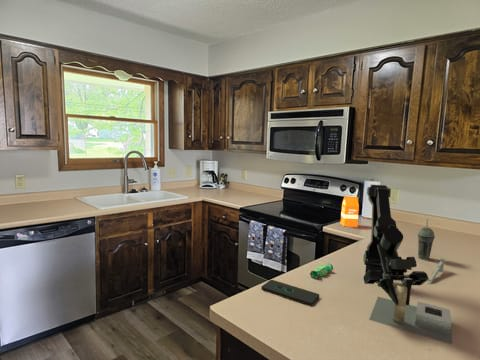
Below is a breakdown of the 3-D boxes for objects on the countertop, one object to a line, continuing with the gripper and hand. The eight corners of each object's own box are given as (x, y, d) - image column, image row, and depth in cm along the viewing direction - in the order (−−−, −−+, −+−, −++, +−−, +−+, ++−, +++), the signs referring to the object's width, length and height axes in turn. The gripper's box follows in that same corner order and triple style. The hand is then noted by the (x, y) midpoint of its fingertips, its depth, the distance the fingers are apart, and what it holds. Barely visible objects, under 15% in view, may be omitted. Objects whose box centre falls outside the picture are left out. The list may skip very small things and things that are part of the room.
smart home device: (271, 278, 125) (320, 293, 114) (271, 282, 126) (319, 298, 115) (260, 286, 119) (311, 303, 108) (260, 290, 119) (311, 307, 108)
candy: (318, 278, 128) (314, 268, 129) (312, 280, 130) (308, 270, 132) (334, 271, 136) (330, 261, 137) (328, 273, 139) (324, 264, 140)
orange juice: (357, 227, 210) (359, 197, 207) (343, 227, 210) (346, 197, 207) (353, 224, 217) (355, 195, 215) (340, 224, 217) (342, 195, 215)
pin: (392, 322, 99) (396, 287, 98) (393, 317, 102) (397, 283, 100) (403, 325, 98) (407, 290, 96) (404, 320, 100) (407, 286, 99)
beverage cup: (433, 258, 157) (438, 219, 154) (430, 262, 151) (434, 221, 149) (417, 254, 162) (421, 216, 159) (413, 258, 156) (417, 218, 154)
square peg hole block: (414, 325, 98) (416, 313, 97) (416, 312, 105) (417, 301, 105) (449, 335, 93) (451, 322, 93) (448, 321, 101) (449, 309, 100)
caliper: (440, 270, 143) (441, 256, 142) (443, 270, 142) (444, 257, 142) (427, 283, 129) (429, 268, 128) (430, 284, 128) (432, 269, 127)
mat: (369, 320, 100) (369, 319, 100) (377, 297, 116) (377, 296, 116) (452, 345, 89) (452, 344, 89) (449, 315, 104) (449, 315, 104)
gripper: (369, 245, 101) (382, 295, 91) (428, 247, 101) (447, 297, 91) (358, 260, 109) (368, 306, 100) (413, 261, 109) (428, 308, 100)
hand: (402, 304), depth 97 cm, fingers closed on pin, 3 cm apart
